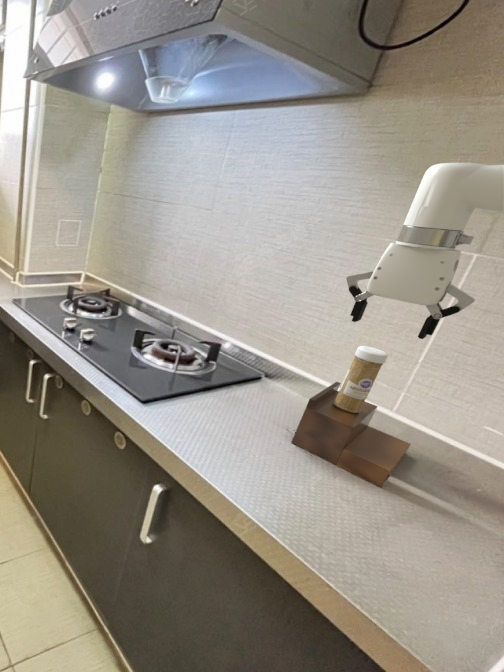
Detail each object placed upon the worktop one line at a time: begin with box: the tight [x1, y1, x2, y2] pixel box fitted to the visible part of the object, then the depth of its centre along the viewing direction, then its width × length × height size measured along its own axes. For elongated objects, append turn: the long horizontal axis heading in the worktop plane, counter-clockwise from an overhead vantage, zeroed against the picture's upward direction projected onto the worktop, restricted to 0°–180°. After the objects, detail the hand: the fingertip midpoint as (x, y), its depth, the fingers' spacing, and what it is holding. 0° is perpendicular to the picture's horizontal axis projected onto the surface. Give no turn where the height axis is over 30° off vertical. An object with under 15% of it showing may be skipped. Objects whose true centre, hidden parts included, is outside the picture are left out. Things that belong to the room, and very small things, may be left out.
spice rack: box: [290, 381, 412, 489], centre depth 81 cm, size 15×16×11 cm
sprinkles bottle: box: [333, 345, 389, 413], centre depth 79 cm, size 5×5×13 cm
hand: (387, 328), depth 75 cm, fingers open, 9 cm apart
